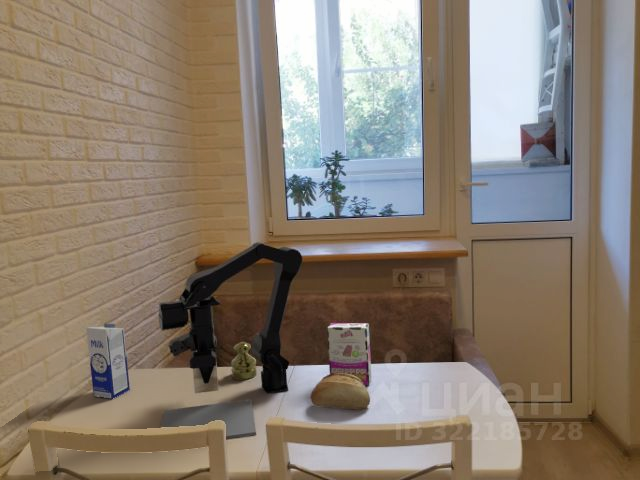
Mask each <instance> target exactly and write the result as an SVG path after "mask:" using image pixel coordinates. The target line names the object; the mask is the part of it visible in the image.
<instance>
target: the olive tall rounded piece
mask: <svg viewBox="0 0 640 480" xmlns="http://www.w3.org/2000/svg"><path fill="white" fill-rule="evenodd" d="M251 345H252V344H250V343H248V342H245V341H240V342H239V343H237V344H235V345H234V346H233V350H235V351H236V352H237V353H238V354H237V355H236V356H235V357H234V358H233V359H232V360H231V362H230V366H231V377H232V378H233V379H235V380H240V379H243V380H248V378H249V379H252V378H254V377H256V375H257V371H258V370H257V366H256V364H257V360H256V359H257V358H256V357H253V356H252V355H250V353H248V352H249V350H250V349H251V348H252V347H251ZM251 377H252V378H251Z"/></svg>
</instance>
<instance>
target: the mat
mask: <svg viewBox="0 0 640 480" xmlns="http://www.w3.org/2000/svg"><path fill="white" fill-rule="evenodd" d="M254 415H255V414H254V408H253V402H252V399H245V400H244V399H243V400H236V401H234V400H233V401H226V402H219V403H212V404H204V405H203V404H202V405H197V406H186V407H179V408H172V409H171V408H170V409H165V410H164V411H163V416H162V418H161V419H162V420H161V423H160V427H179V426H196V425H205V424H208V423H209V422H211V421H215V420H222V421H224V422H225V424H226V439H227V440H228V439H234V438H241V437H247V436H255V435H257V431H256V429H257V428H256V423H255V416H254ZM226 439H225V440H226Z"/></svg>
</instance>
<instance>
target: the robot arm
mask: <svg viewBox="0 0 640 480" xmlns="http://www.w3.org/2000/svg"><path fill="white" fill-rule="evenodd" d="M261 260H268V261H272V262H273V273H274V280H273V285H272V289H271V293H270V297H269V302H268V306H267V310H266V314H265V318H264V319H265V320H264V324H263V327H262V330H261V331H260V332H259V333H256V332H254V334H253V341H252V344H250V345H251V348H252V354H253V356H254V358H255V359H257V360H258V361H259V362H260V363H261V364H262V370H261V371H260V379H261V382H260V384H261V388H262V389H263V391H264V393H265V394H268V393H269V394H270V393H277V392H278V393H279V392H285V391H288V390H289V386H288V377H287V370H288V369H289V366H290V361H289V360H288V359H287V358H285V357H284V356H283V355H282V353H281V351H282V342H281V341H282V340H281V333H280V332H281V328H282V323H283V320H284V315H285V311H286V306H287V304H288V303H287V302H288V298H289V294H290V289H291V285H292V283H293V281H294V279H295V278H296V277H297V275H299V274H298V273H299V271H300V268H301V266H302V264H303V255H302V254H301V252H300V251H299V250H297V249H295V248H292V247H288V246H282V247H279V248H277V247H273V246H270V245H267V244H266V243H262V242H258V241H256V242H254V243H253V244H252V245H251V246H249V247H247V248H246V249H244V250H242V251H241V252H239V253H237V254H236V255H234V256H232V257H230V258H229V259H227V260H225V261H224V262H222V263H220V264H218V265H217V266H215V267H212V268H209V269H205V270H202V271H199V272H196V273H194V274H191V275H190V276H189V277H188V278H187V279H186V282H185V288H184V289H183V291H182V293H181V294H180V296H179V297H178V300H176V301H170V302H159V303H158V305H159V308H158V315H157V316H158V324H159V328H160V330H161V332H163V331H167V330H168V331H169V330H174V329H179V328H185V326H187V325H188V323H190V324H189V325H190V328H189V332H187V333H184V334H182V335H180V336H178V337H176V338H173V339H172V340H170V341H169V343H168V348H169V353H171V354H172V355H173V356H172V357H175V358H176V357H178V356H179V355H181V354H182V353H184V352H187V351H188V350H189V351H190V352H192V354H191V355H190V357H189V367H190V369H191V370H193V369H194V368H199V369H200V372H201V375H202V378H203V381H204V383H205V384H206V383H209V380H210V377H211V374H212V371H213V368H214V366H216V363H217V349H216V347H217V336H216V335H215V329H214V328H215V327H214V326H215V324H214V317H213V316H214V315H213V307H214V306H219V305H221V303H220V301H218V300H217V299H216V298H215V297H214V295H213V294H214V293H215V292H216V291H218V290H219V289H220V288H221V286H222V285H223V284H224V283H225V282H226V281H228V280H230V279H231V278H232V277H234V276H236V275H238V274H239V273H241V272H243V271H244V270H246V269H247V268H249V267H251V266H252V265H254V264H256V263H258V262H259V261H261Z"/></svg>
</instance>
